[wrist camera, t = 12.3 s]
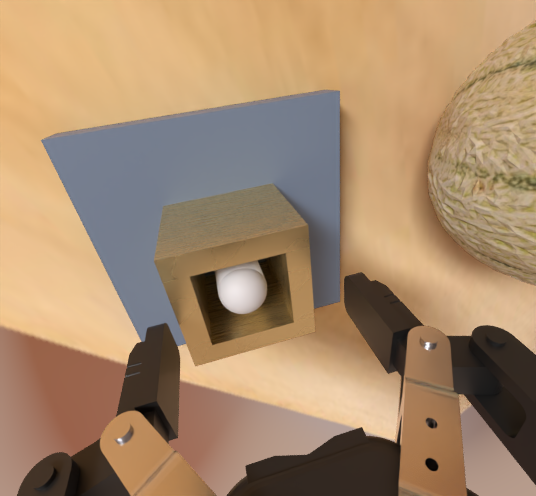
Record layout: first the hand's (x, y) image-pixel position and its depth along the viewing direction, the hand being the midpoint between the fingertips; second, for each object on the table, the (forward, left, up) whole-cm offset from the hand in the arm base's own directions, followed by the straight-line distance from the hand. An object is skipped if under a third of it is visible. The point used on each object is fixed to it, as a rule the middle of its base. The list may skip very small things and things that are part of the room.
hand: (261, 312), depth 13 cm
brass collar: (+1, 0, -7) cm, 7 cm away
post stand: (+1, 0, -9) cm, 9 cm away
